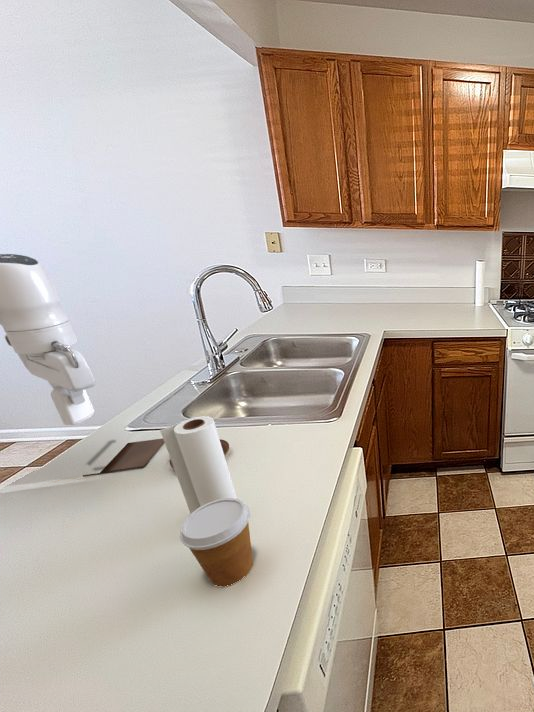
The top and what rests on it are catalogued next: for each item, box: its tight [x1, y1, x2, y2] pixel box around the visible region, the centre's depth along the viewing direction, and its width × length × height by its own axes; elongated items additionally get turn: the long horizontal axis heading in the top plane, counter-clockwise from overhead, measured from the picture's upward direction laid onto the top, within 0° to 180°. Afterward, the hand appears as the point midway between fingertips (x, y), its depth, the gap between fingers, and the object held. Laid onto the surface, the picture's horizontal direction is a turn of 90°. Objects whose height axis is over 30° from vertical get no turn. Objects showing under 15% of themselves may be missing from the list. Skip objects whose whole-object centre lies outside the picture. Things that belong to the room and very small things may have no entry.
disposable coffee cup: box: [179, 498, 254, 587], centre depth 65 cm, size 10×10×12 cm
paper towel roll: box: [159, 415, 238, 514], centre depth 75 cm, size 7×6×21 cm
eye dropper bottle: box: [50, 385, 96, 426], centre depth 83 cm, size 4×6×12 cm
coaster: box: [82, 437, 165, 478], centre depth 97 cm, size 12×12×1 cm
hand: (72, 400), depth 84 cm, fingers closed on eye dropper bottle, 4 cm apart
